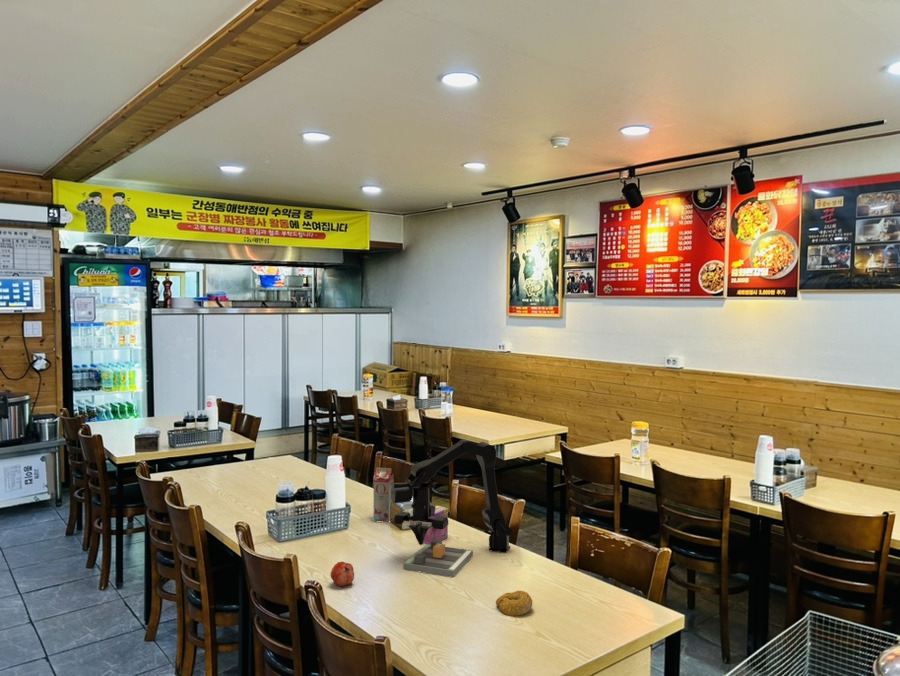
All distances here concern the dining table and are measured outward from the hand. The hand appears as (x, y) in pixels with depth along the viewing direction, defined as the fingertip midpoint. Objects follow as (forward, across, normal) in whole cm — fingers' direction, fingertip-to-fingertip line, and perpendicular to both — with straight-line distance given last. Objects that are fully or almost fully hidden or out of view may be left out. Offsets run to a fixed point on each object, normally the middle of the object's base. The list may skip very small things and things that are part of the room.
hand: (420, 544), depth 223 cm
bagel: (+6, -40, +25) cm, 48 cm away
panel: (+5, -7, 0) cm, 9 cm away
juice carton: (+6, +32, -35) cm, 48 cm away
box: (+6, +3, -20) cm, 21 cm away
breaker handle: (+3, -7, 0) cm, 8 cm away
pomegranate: (+6, +15, +28) cm, 32 cm away
